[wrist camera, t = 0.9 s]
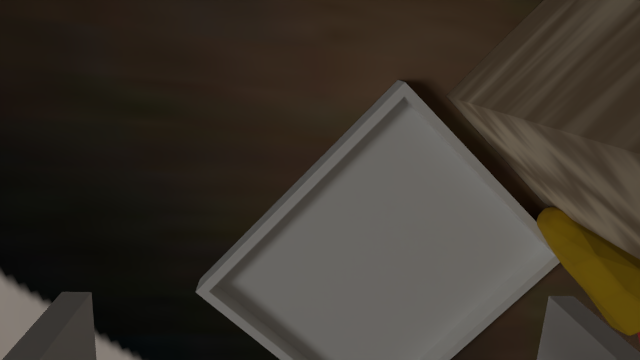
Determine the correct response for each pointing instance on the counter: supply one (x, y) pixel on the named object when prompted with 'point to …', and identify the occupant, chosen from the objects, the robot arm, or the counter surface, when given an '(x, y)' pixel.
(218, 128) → the counter surface
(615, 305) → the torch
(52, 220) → the counter surface
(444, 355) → the tray
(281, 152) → the counter surface
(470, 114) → the stand
